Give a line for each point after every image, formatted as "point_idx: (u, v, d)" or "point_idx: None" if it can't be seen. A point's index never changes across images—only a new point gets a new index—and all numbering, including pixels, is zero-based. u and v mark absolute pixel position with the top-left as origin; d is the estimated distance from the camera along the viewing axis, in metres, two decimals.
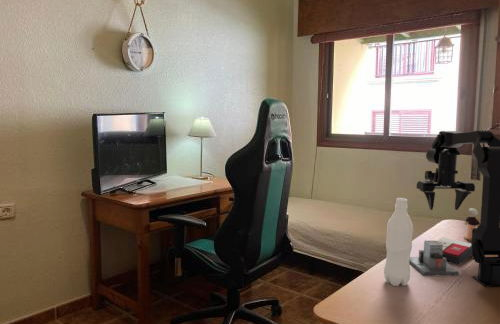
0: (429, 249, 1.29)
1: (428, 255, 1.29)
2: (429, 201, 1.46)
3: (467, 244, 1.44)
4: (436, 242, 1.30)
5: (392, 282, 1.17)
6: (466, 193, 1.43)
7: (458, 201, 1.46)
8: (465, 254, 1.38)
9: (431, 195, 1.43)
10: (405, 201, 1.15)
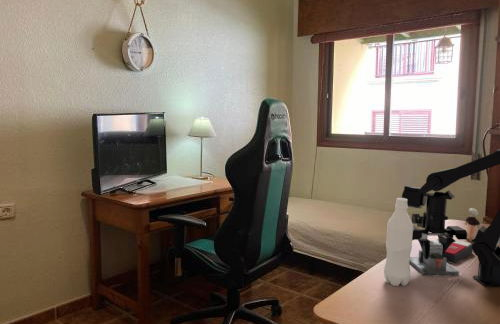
0: (429, 249, 1.29)
1: (428, 255, 1.29)
2: (423, 249, 1.30)
3: (465, 243, 1.45)
4: (436, 242, 1.30)
5: (392, 282, 1.17)
6: (450, 241, 1.27)
7: None
8: (462, 253, 1.39)
9: (425, 244, 1.27)
10: (405, 201, 1.15)
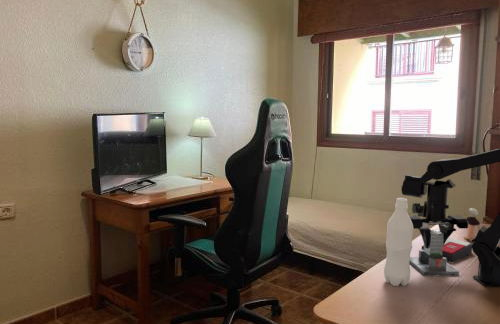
0: (430, 238, 1.28)
1: (429, 244, 1.29)
2: (424, 239, 1.29)
3: (465, 242, 1.45)
4: (437, 231, 1.30)
5: (392, 282, 1.17)
6: (450, 230, 1.27)
7: None
8: (460, 252, 1.39)
9: (426, 233, 1.27)
10: (405, 201, 1.15)
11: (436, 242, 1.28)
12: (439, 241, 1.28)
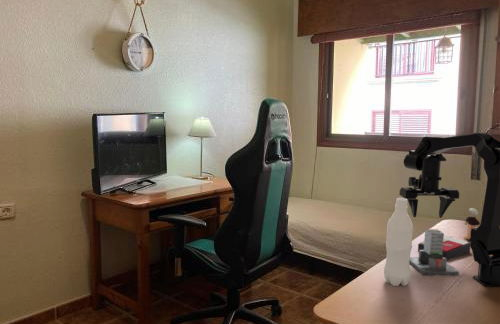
0: (430, 238, 1.28)
1: (429, 244, 1.29)
2: (412, 208, 1.41)
3: (463, 241, 1.46)
4: (437, 231, 1.30)
5: (392, 282, 1.17)
6: (450, 200, 1.39)
7: (442, 208, 1.41)
8: (456, 251, 1.41)
9: (414, 202, 1.39)
10: (405, 201, 1.15)
11: (436, 241, 1.28)
12: (439, 240, 1.28)
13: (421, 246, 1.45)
